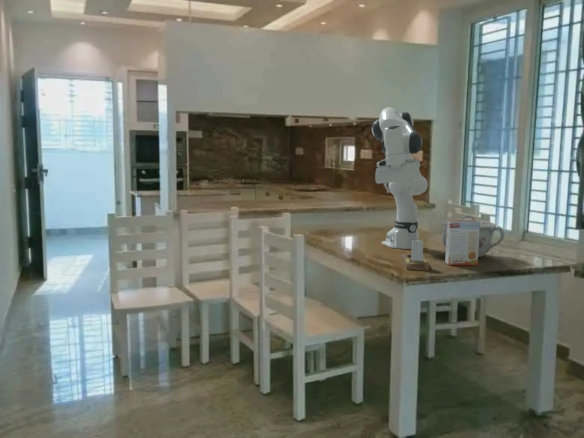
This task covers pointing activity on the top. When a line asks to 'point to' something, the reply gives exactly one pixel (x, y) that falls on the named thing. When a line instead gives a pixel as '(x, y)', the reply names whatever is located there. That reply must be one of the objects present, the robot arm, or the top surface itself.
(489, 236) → the chamber pot
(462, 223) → the cracker box
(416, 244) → the peg
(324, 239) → the top surface
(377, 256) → the top surface
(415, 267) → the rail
